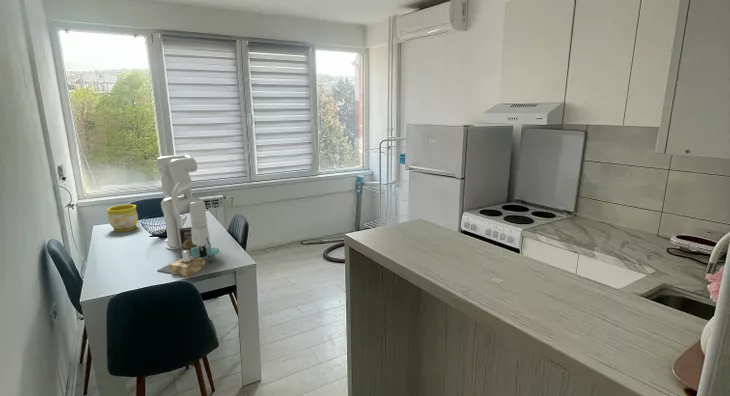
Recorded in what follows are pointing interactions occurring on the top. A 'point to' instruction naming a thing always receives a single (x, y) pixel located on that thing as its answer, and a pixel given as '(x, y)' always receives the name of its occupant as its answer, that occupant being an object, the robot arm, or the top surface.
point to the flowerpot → (123, 217)
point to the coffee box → (186, 239)
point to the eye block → (187, 266)
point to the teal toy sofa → (210, 253)
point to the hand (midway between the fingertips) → (203, 256)
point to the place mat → (165, 269)
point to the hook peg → (186, 256)
